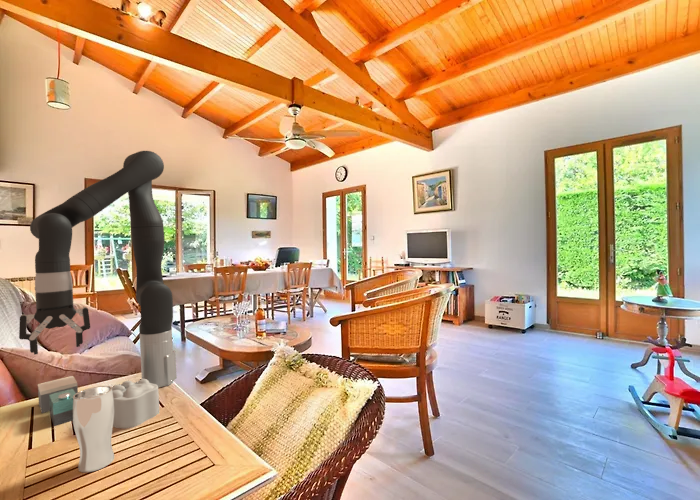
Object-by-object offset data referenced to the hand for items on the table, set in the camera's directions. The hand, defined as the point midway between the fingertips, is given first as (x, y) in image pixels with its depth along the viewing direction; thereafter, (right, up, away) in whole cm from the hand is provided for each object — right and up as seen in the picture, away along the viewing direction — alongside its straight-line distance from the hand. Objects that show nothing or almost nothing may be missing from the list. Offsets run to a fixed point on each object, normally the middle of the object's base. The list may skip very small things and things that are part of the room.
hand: (57, 349), depth 92 cm
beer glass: (+25, -18, -20) cm, 37 cm away
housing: (+1, -18, 0) cm, 18 cm away
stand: (-7, -18, +9) cm, 22 cm away
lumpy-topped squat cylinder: (+20, -18, 0) cm, 26 cm away
